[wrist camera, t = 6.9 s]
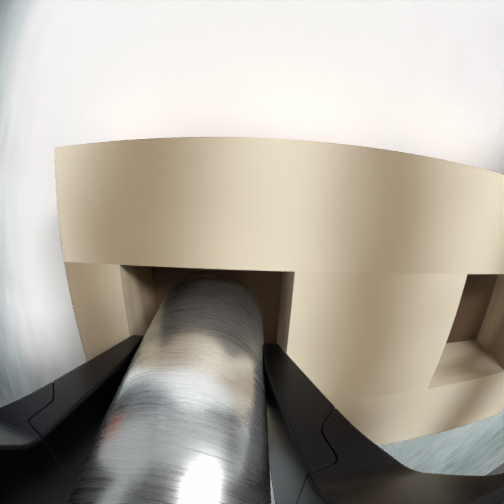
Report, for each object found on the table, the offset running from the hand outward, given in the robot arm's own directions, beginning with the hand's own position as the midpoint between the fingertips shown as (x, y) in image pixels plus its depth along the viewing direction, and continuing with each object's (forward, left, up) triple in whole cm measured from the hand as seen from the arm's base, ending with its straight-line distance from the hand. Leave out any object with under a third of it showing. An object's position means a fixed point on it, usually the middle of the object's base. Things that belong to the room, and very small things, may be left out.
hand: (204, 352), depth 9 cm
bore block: (-5, 0, -4) cm, 7 cm away
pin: (0, 0, -2) cm, 2 cm away
